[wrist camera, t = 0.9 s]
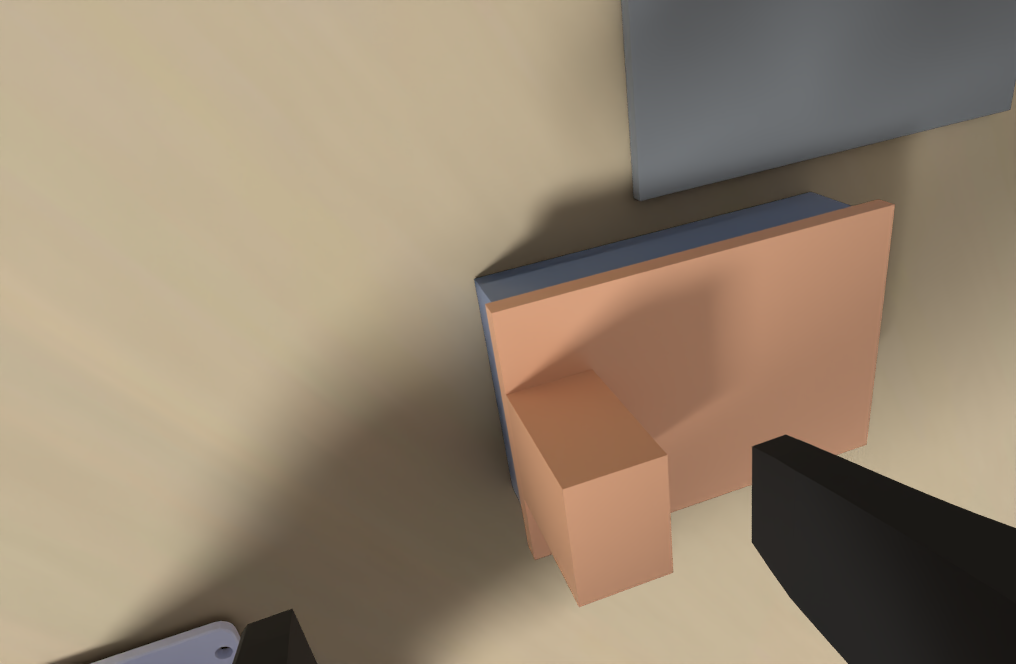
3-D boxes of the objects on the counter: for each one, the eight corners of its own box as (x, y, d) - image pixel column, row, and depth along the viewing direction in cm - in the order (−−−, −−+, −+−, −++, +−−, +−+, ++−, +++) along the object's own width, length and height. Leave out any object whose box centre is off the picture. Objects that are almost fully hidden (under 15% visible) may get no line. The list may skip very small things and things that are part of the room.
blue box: (799, 394, 25) (846, 430, 23) (512, 487, 23) (536, 535, 21) (810, 191, 22) (868, 211, 19) (474, 278, 19) (498, 311, 17)
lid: (834, 420, 24) (973, 523, 19) (519, 526, 22) (588, 673, 17) (855, 191, 20) (1034, 249, 15) (475, 291, 18) (549, 394, 13)
